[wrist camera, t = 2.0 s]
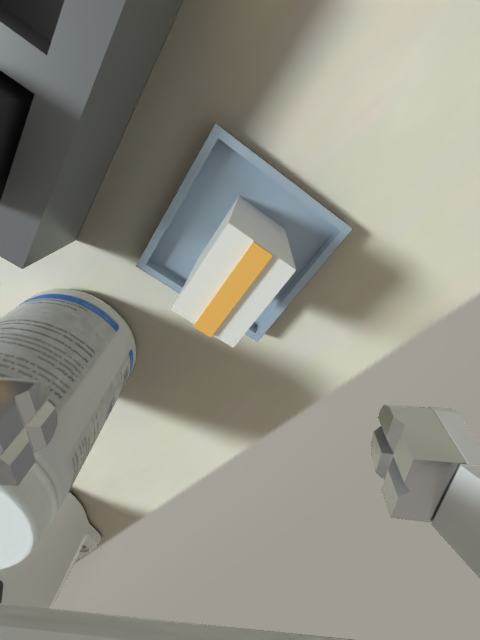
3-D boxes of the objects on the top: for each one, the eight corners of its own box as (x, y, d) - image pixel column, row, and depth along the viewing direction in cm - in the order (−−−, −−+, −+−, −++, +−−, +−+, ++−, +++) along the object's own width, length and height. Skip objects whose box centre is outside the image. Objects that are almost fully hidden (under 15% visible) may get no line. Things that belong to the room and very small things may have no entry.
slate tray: (257, 331, 26) (257, 341, 25) (142, 259, 24) (135, 266, 23) (346, 223, 22) (352, 229, 21) (218, 124, 20) (215, 123, 19)
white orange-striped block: (241, 287, 24) (232, 351, 17) (198, 258, 23) (169, 312, 16) (284, 228, 22) (296, 272, 15) (239, 195, 21) (227, 224, 14)
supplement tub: (-3, 307, 27) (-254, 467, 14) (98, 266, 25) (-83, 407, 12) (69, 399, 31) (-72, 589, 18) (161, 370, 29) (79, 561, 16)
